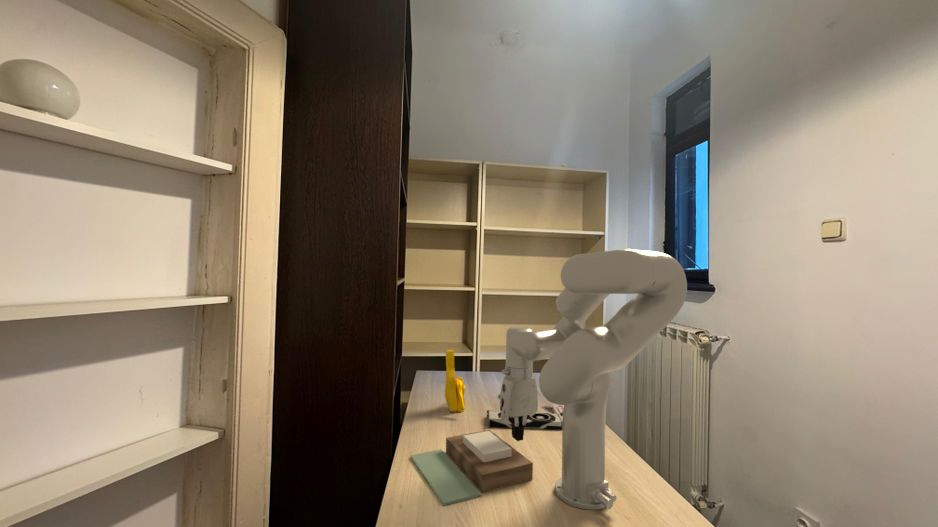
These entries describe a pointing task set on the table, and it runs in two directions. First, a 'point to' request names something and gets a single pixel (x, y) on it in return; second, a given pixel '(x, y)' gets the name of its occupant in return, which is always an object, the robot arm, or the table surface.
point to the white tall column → (558, 411)
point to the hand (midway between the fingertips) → (517, 438)
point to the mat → (444, 477)
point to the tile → (487, 446)
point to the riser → (489, 465)
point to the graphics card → (533, 422)
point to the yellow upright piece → (453, 386)
